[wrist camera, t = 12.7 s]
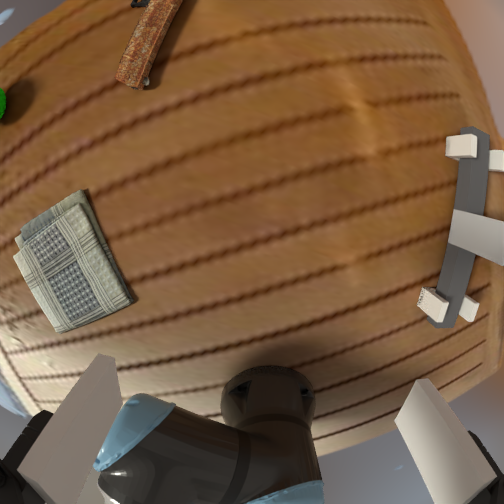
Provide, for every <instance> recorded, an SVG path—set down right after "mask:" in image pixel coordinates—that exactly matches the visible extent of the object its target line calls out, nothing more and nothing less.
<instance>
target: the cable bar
mask: <svg viewBox="0 0 504 504" xmlns="http://www.w3.org/2000/svg"><path fill="white" fill-rule="evenodd" d="M465 134H473V135H475V136H477V155H476V158H459V169H458V180H457V189H456V197H455V204H454V211H453V217H452V223H451V228H450V234H449V239H448V244H447V248H446V253H445V257H444V261H443V265H442V269H441V273H440V277H439V281H438V284H437V288H436V291H435V293H436V294H438V295H439V296H440V297H442V298H443V299H445V300H446V301H447V302H449V304H448V307H447V310H446V313H445V316H444V319H443V322H436V321H434V320H433V319H432V318H431V317H430V316H429V315H428V317H427V320H428V321H429V322H430V323H431V324H432V325H433V326H434V327H435V328H453V327H454V325H455V322H456V319H457V316H458V313H459V310H460V308H461V305H462V301H463V298H464V295H465V292H466V289H467V285H468V282H469V278H470V274H471V271H472V267H473V263H474V259H475V254H477V255H479V256H481V257H484V258H486V259H488V260H490V261H493V262H495V263H497V264H499V265H501V266H504V222H503V221H499V220H496V219H492V218H488V217H484V216H483V212H484V205H485V198H486V189H487V179H488V166H489V138H490V135H488V134H486V133H484V132H483V131H481V130H479V129H477V128H475V127H473V126H472V127H465V128H461V133H460V135H465Z"/></svg>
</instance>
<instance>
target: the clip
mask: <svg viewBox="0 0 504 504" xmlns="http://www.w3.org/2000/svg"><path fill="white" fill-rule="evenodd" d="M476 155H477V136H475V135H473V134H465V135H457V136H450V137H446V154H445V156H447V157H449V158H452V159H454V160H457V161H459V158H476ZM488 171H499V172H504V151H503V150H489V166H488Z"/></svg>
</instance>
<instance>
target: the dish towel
mask: <svg viewBox="0 0 504 504" xmlns="http://www.w3.org/2000/svg"><path fill="white" fill-rule="evenodd" d="M20 230H21V232H22V233H21V234H20V235H19V236H18V237H16V238H15V241H16V243H17V245H18V247H19V249H20V251H19V252H18V253H17V254H16V255H14V256H13V257H14V259H15V261H16V263H17V265H18V267H19V269H20V271H21V273H22V275H23V277H24V279H25V281H26V282H27V284H28V286H29V288H30V289H31V291H32V293H33V295H34V297H35V299H36V300H37V302H38V304H39V305H40V307H41V308H42V310H43V311H44V313H45V314H46V316H47V318H48V319H49V321H50V322H51V324H52V325H53V327H54V329H55V331H56V332H57V333H59V334H62V333H64V332H65V331H68V330H71V329H74V328H77V327H80V326H83V325H85V324H88V323H90V322H93V321H95V320H98V319H100V318H102V317H104V316H107V315H109V314H111V313H113V312H115V311H117V310H119V309H121V308H123V307H125V306H128V305H130V304H131V303H132V302H133V301H134V300H133V298H132V296H131V295H130V293H129V291H128V289H127V287H126V285H125V283H124V281H123V279H122V277H121V275H120V273H119V271H118V269H117V266H116V264H115V262H114V260H113V257H112V255H111V252H110V250H109V248H108V246H107V243H106V241H105V239H104V237H103V234H102V232H101V230H100V228H99V225H98V223H97V221H96V218H95V215H94V212H93V211H92V209H91V206H90V204H89V202H88V200H87V198H86V195H85V193H84V191H83V190H82V189H80V190H79V191H77V192H75V193H73V194H71V195H70V196H68V197H66V198H65V199H64V200H62V201H60V202H59V203H57V204H56V205H54V206H53V207H51V208H50V209H48V210H47V211H45V212H43V213H42V214H40V215H39V216H37V217H36V218H34V219H32V220H31V221H29V222H28V223H26V224H25V225H24V226H23V227H22V228H21V229H20Z"/></svg>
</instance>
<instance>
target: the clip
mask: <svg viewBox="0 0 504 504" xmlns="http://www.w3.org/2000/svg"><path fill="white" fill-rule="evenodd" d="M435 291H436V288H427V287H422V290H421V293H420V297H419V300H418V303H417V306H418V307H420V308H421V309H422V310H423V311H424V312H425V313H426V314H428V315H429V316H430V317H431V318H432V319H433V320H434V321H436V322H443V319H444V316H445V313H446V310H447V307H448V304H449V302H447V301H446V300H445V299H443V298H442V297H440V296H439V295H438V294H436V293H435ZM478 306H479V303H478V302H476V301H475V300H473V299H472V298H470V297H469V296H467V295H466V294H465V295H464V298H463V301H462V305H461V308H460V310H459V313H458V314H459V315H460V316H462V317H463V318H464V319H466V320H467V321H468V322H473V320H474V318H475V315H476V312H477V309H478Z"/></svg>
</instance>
